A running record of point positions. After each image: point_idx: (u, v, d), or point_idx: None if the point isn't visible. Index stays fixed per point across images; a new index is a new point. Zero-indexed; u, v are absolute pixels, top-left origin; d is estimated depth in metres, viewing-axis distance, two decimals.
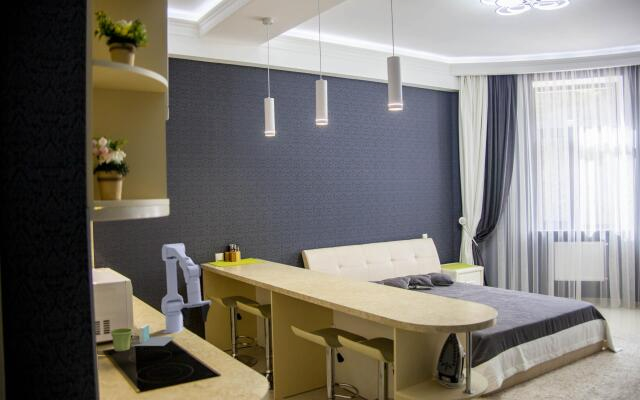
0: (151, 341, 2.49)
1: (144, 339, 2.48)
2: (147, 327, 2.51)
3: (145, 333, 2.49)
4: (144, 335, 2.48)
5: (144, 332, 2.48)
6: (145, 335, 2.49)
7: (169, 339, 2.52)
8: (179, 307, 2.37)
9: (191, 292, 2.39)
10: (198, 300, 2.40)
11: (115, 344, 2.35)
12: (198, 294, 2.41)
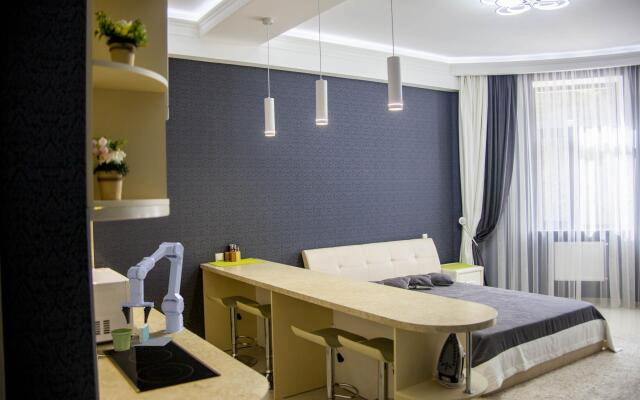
0: (151, 341, 2.49)
1: (144, 339, 2.48)
2: (147, 327, 2.51)
3: (145, 333, 2.49)
4: (144, 335, 2.48)
5: (144, 332, 2.48)
6: (145, 335, 2.49)
7: (169, 339, 2.52)
8: (120, 306, 2.44)
9: (130, 293, 2.44)
10: (136, 302, 2.42)
11: (115, 344, 2.35)
12: (137, 296, 2.43)
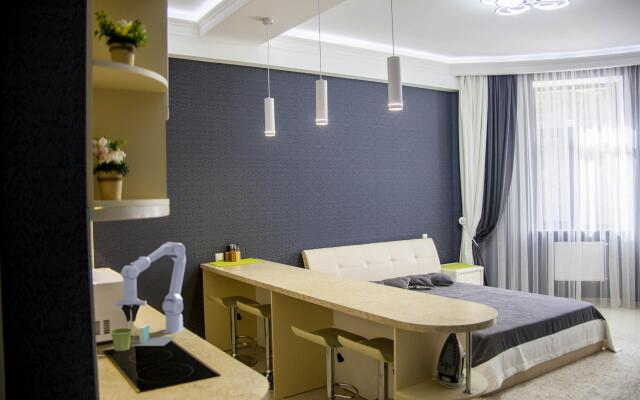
0: (151, 341, 2.49)
1: (144, 339, 2.48)
2: (147, 327, 2.51)
3: (145, 333, 2.49)
4: (144, 335, 2.48)
5: (144, 332, 2.48)
6: (145, 335, 2.49)
7: (169, 339, 2.52)
8: (115, 303, 2.50)
9: None
10: (129, 300, 2.47)
11: (115, 344, 2.35)
12: (130, 295, 2.47)
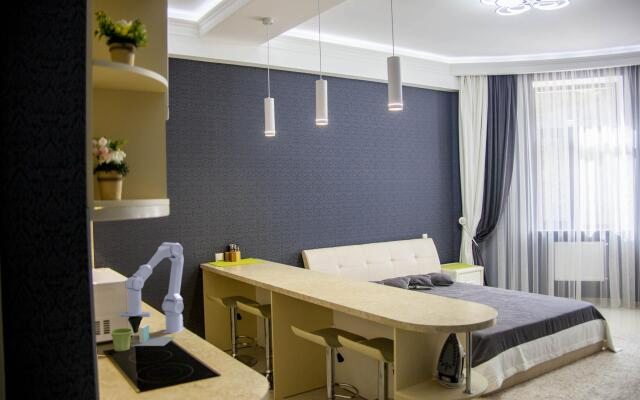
0: (151, 341, 2.49)
1: (144, 339, 2.48)
2: (147, 327, 2.51)
3: (145, 333, 2.49)
4: (144, 335, 2.48)
5: (144, 332, 2.48)
6: (145, 335, 2.49)
7: (169, 339, 2.52)
8: None
9: (128, 303, 2.49)
10: (134, 312, 2.47)
11: (115, 344, 2.35)
12: (134, 306, 2.47)
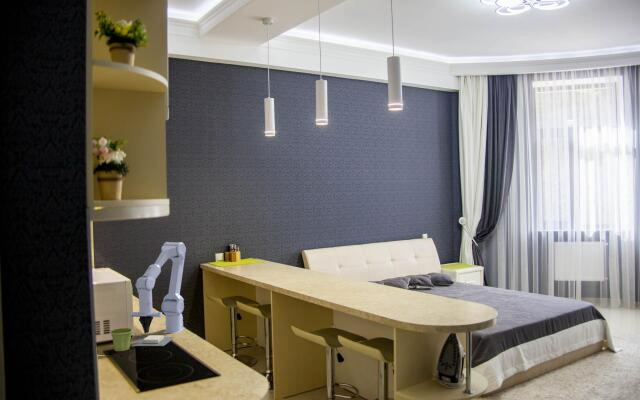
0: None
1: None
2: None
3: None
4: None
5: None
6: None
7: (169, 339, 2.52)
8: None
9: (139, 303, 2.48)
10: (144, 312, 2.47)
11: (115, 344, 2.35)
12: (145, 306, 2.47)
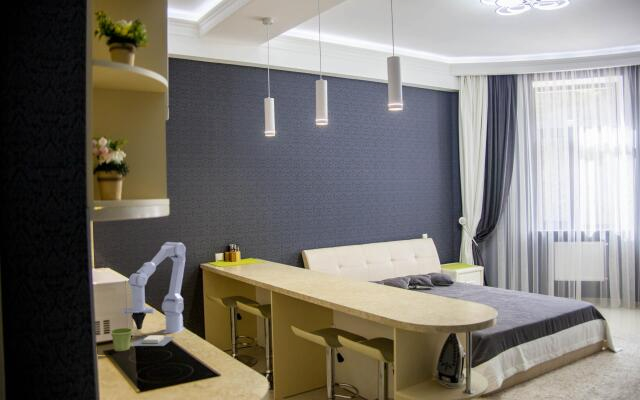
0: None
1: None
2: None
3: None
4: None
5: None
6: None
7: (169, 339, 2.52)
8: (123, 311, 2.50)
9: None
10: (137, 308, 2.47)
11: (115, 344, 2.35)
12: (138, 303, 2.47)
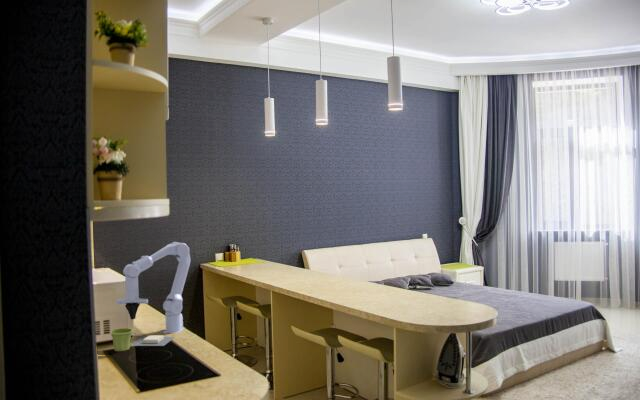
0: None
1: None
2: None
3: None
4: None
5: None
6: None
7: (169, 339, 2.52)
8: (117, 302, 2.55)
9: None
10: (131, 299, 2.51)
11: (115, 344, 2.35)
12: (131, 293, 2.51)
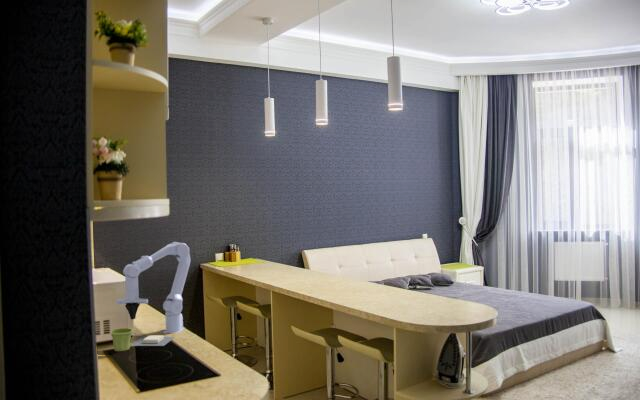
0: None
1: None
2: None
3: None
4: None
5: None
6: None
7: (169, 339, 2.52)
8: (117, 302, 2.55)
9: None
10: (131, 299, 2.51)
11: (115, 344, 2.35)
12: (131, 293, 2.51)
